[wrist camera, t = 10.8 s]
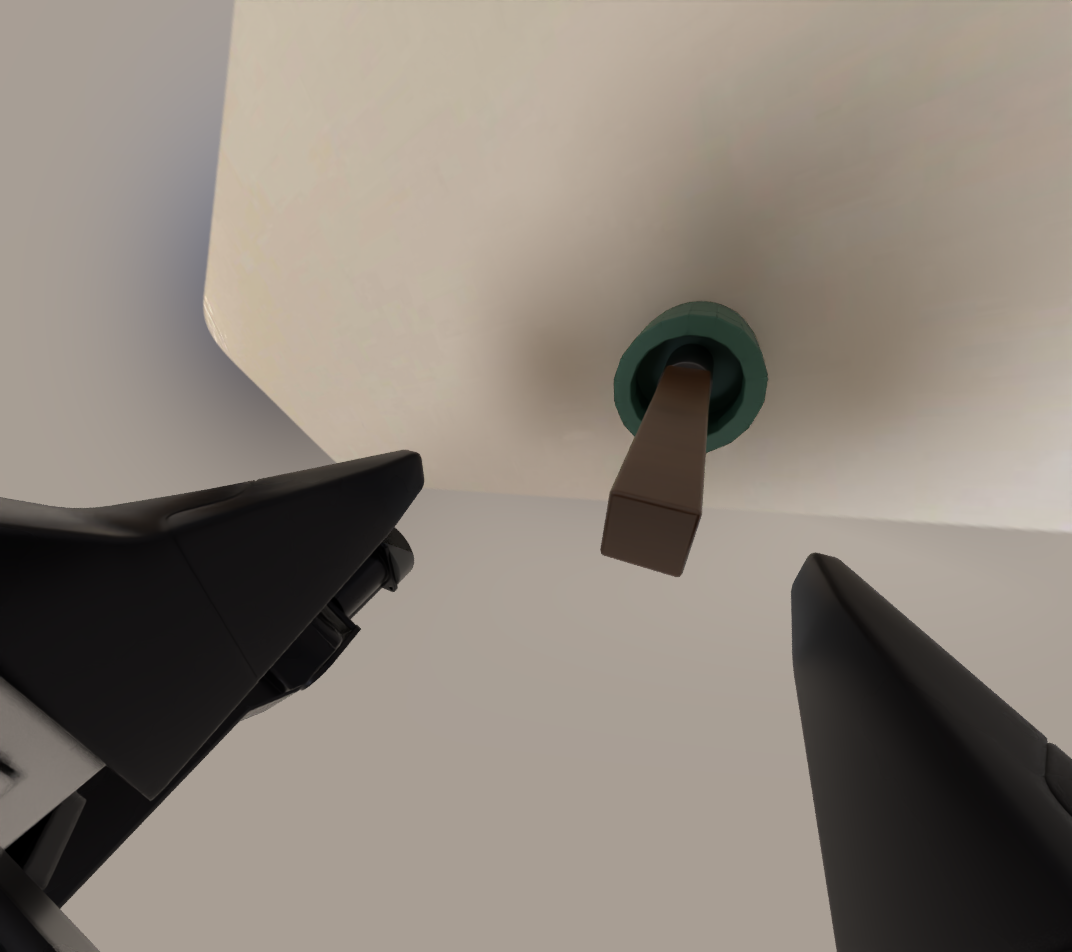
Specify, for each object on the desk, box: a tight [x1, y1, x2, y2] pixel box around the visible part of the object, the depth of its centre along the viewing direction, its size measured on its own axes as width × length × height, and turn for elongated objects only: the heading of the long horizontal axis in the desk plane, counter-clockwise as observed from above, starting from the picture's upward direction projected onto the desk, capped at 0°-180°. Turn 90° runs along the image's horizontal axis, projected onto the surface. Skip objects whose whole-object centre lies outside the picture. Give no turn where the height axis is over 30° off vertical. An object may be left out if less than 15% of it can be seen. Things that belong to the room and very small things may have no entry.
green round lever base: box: [614, 301, 768, 453], centre depth 16 cm, size 5×6×4 cm
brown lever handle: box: [601, 344, 714, 577], centre depth 12 cm, size 2×2×13 cm
